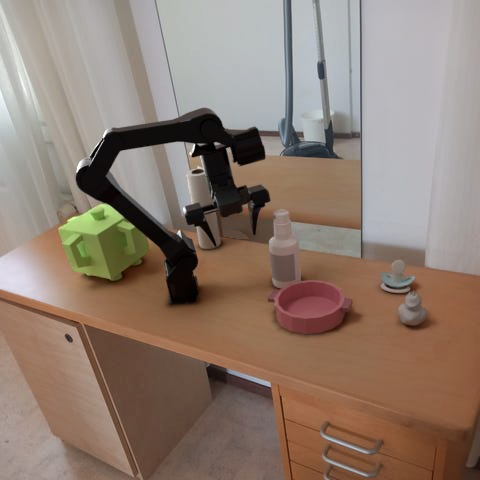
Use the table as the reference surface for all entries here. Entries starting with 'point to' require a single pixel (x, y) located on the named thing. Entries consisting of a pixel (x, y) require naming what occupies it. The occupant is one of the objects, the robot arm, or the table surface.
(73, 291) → the table surface
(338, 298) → the pot
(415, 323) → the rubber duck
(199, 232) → the paper towel roll
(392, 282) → the pacifier
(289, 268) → the spray bottle
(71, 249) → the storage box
